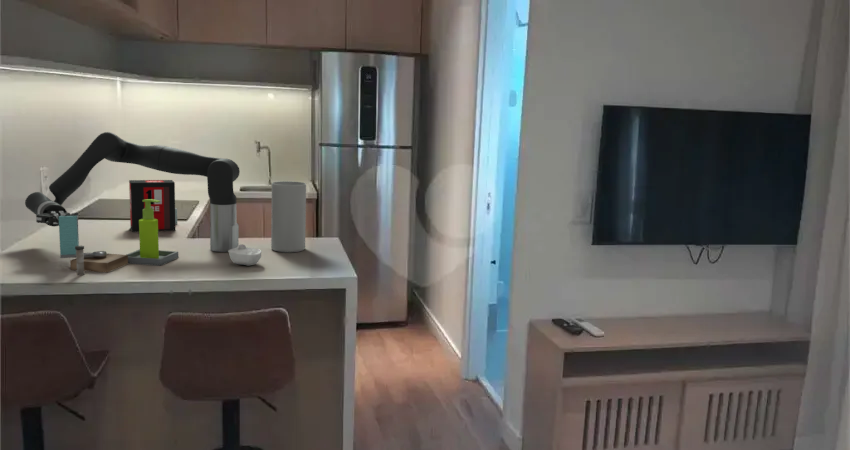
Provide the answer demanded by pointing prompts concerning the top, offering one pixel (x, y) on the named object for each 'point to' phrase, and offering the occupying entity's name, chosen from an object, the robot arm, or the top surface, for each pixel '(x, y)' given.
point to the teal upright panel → (72, 238)
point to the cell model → (245, 255)
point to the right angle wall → (175, 216)
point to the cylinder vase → (288, 216)
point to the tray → (163, 258)
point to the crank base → (96, 262)
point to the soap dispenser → (149, 232)
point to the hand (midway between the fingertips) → (63, 222)
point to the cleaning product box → (162, 209)
